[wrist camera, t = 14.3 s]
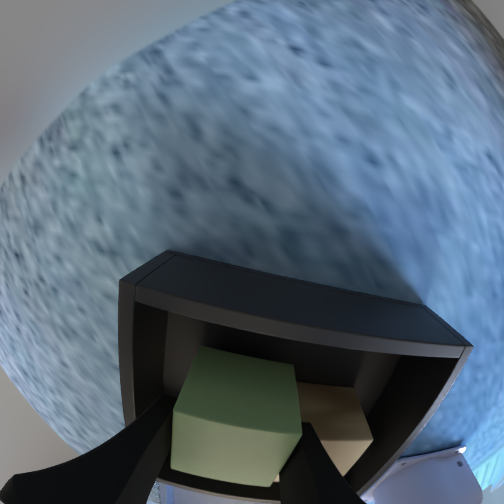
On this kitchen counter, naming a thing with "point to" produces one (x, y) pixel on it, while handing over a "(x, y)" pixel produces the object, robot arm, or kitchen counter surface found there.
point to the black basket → (285, 351)
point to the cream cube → (335, 421)
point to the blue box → (192, 497)
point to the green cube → (235, 418)
